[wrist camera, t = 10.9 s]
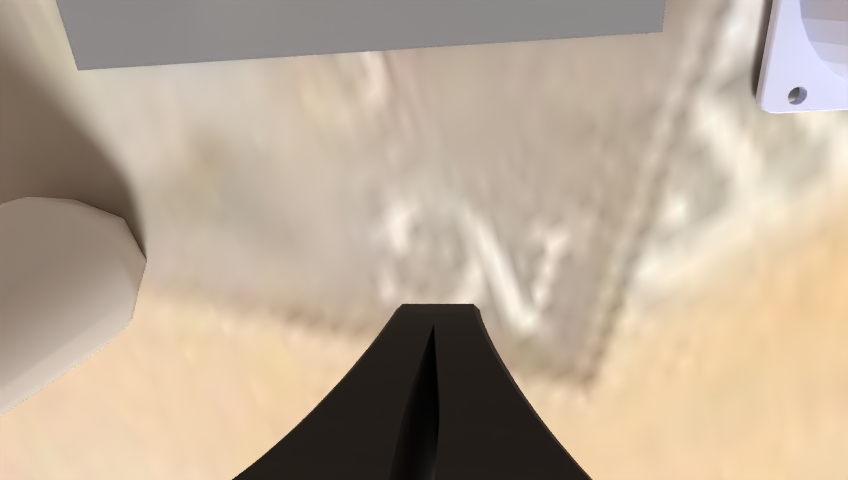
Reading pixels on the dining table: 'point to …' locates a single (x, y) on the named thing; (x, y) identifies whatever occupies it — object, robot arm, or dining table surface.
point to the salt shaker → (60, 289)
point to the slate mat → (327, 26)
